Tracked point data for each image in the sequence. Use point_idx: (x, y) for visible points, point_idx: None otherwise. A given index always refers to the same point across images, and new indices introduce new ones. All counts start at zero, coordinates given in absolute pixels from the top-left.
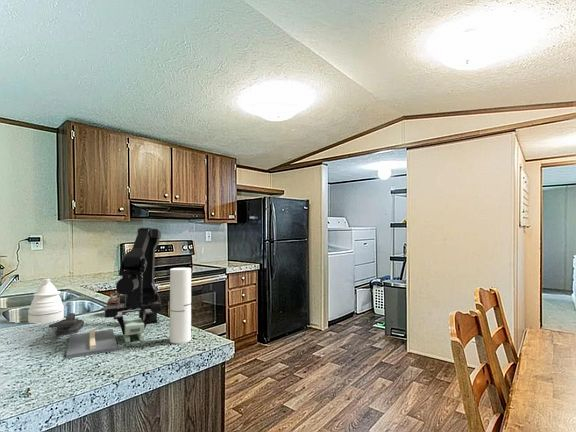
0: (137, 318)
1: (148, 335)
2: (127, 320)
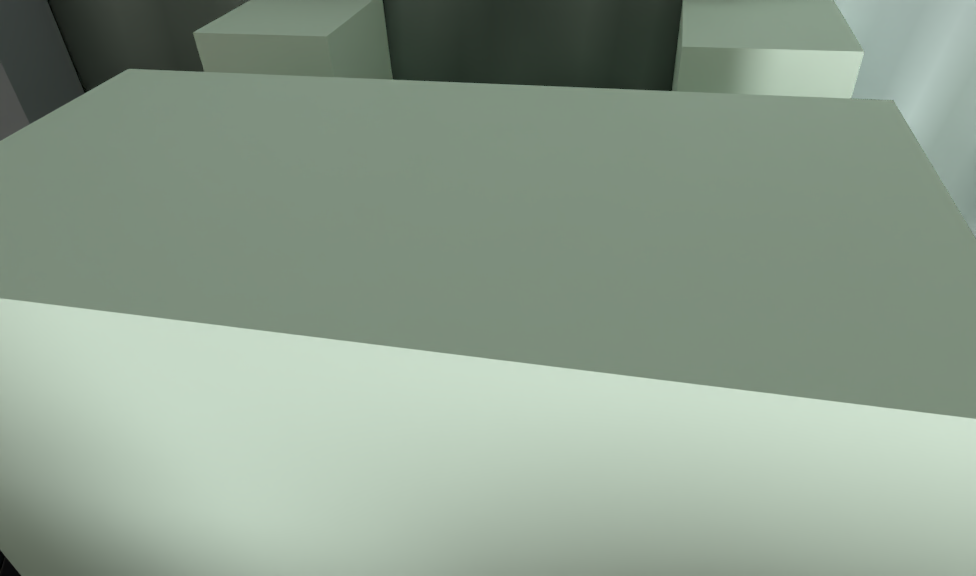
0: (766, 386)
1: None
2: (87, 466)
